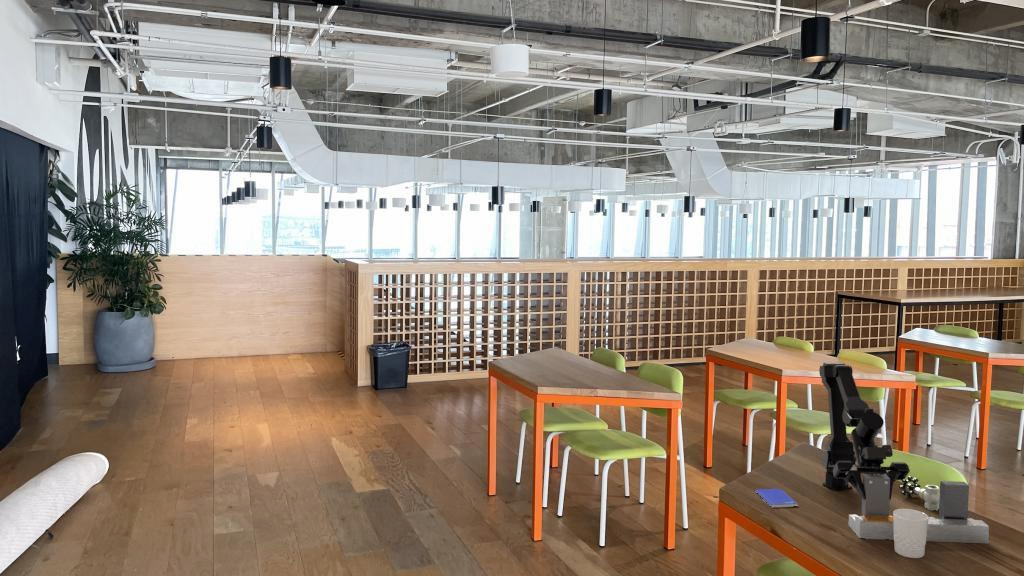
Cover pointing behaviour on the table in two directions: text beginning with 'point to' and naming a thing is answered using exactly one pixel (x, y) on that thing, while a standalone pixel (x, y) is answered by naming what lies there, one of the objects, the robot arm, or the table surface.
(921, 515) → the white cup
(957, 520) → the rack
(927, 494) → the valve
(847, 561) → the table surface
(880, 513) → the grey rectangular block
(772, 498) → the hard drive
